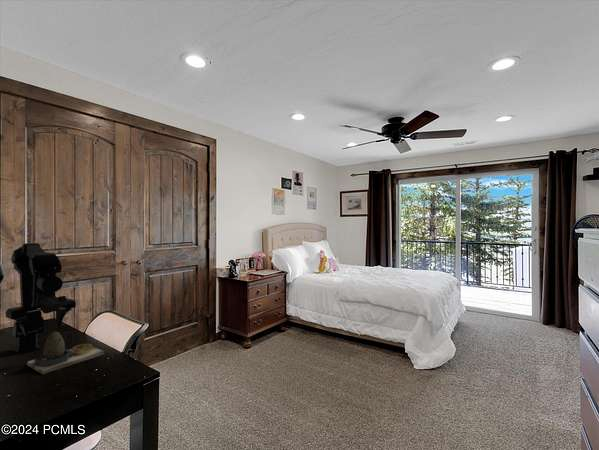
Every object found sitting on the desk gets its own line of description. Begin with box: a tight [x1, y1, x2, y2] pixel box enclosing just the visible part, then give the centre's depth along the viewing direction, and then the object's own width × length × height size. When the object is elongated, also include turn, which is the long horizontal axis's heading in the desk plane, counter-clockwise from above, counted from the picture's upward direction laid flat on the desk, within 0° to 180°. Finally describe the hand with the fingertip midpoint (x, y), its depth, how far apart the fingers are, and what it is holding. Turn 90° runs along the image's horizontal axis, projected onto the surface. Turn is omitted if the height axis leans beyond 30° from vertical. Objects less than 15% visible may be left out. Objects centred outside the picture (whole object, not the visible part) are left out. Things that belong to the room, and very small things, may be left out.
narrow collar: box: [71, 342, 94, 355], centre depth 116 cm, size 6×6×2 cm
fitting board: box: [26, 346, 105, 375], centre depth 111 cm, size 13×19×1 cm
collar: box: [34, 348, 72, 367], centre depth 108 cm, size 10×10×2 cm
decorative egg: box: [42, 331, 66, 359], centre depth 108 cm, size 6×6×10 cm
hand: (42, 332), depth 109 cm, fingers open, 9 cm apart
